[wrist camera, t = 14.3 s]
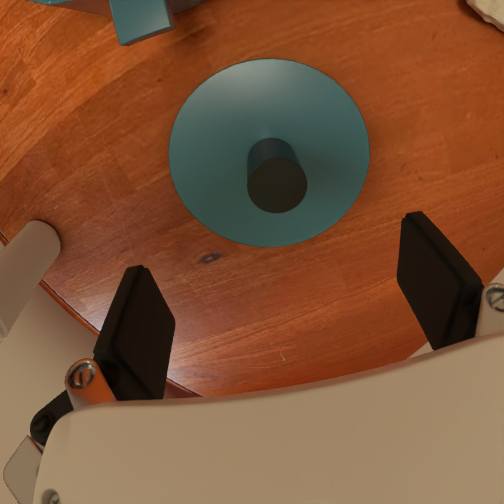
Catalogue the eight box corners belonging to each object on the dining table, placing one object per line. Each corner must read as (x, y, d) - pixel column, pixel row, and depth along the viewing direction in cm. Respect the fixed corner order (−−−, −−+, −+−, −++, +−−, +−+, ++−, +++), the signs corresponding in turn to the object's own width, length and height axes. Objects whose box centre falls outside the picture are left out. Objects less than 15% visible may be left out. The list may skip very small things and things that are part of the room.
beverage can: (20, 220, 24) (-48, 299, 14) (52, 213, 24) (-20, 300, 14) (37, 259, 27) (-18, 341, 17) (69, 256, 27) (13, 347, 17)
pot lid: (202, 253, 27) (193, 300, 22) (148, 87, 18) (115, 97, 13) (367, 223, 25) (393, 265, 20) (352, 48, 17) (387, 45, 12)
